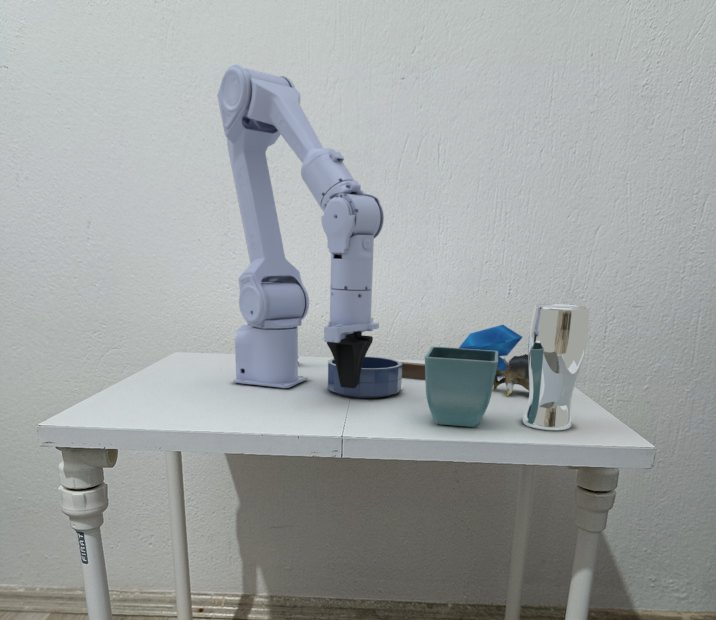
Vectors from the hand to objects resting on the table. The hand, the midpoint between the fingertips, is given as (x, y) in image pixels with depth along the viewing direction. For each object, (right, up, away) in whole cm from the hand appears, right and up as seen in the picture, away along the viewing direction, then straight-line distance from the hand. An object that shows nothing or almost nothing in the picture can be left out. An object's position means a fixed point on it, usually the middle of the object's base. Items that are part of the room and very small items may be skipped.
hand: (348, 387), depth 95 cm
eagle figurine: (+26, 0, +8) cm, 27 cm away
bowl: (+2, 0, +7) cm, 7 cm away
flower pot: (+14, -6, -9) cm, 18 cm away
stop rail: (+7, +5, +20) cm, 21 cm away
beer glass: (+26, -6, -9) cm, 28 cm away
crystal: (+24, +5, +24) cm, 34 cm away
